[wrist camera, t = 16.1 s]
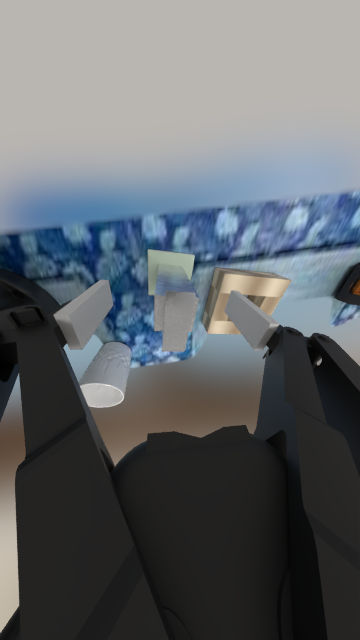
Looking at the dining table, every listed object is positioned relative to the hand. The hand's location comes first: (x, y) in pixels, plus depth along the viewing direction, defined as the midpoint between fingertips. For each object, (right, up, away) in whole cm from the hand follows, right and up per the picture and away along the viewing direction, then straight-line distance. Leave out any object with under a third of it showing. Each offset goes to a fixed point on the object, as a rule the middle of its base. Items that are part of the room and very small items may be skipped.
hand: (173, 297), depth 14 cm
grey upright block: (-1, +5, +7) cm, 8 cm away
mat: (-1, +5, +7) cm, 9 cm away
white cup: (-14, -10, +16) cm, 23 cm away
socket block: (+12, +2, +11) cm, 16 cm away
